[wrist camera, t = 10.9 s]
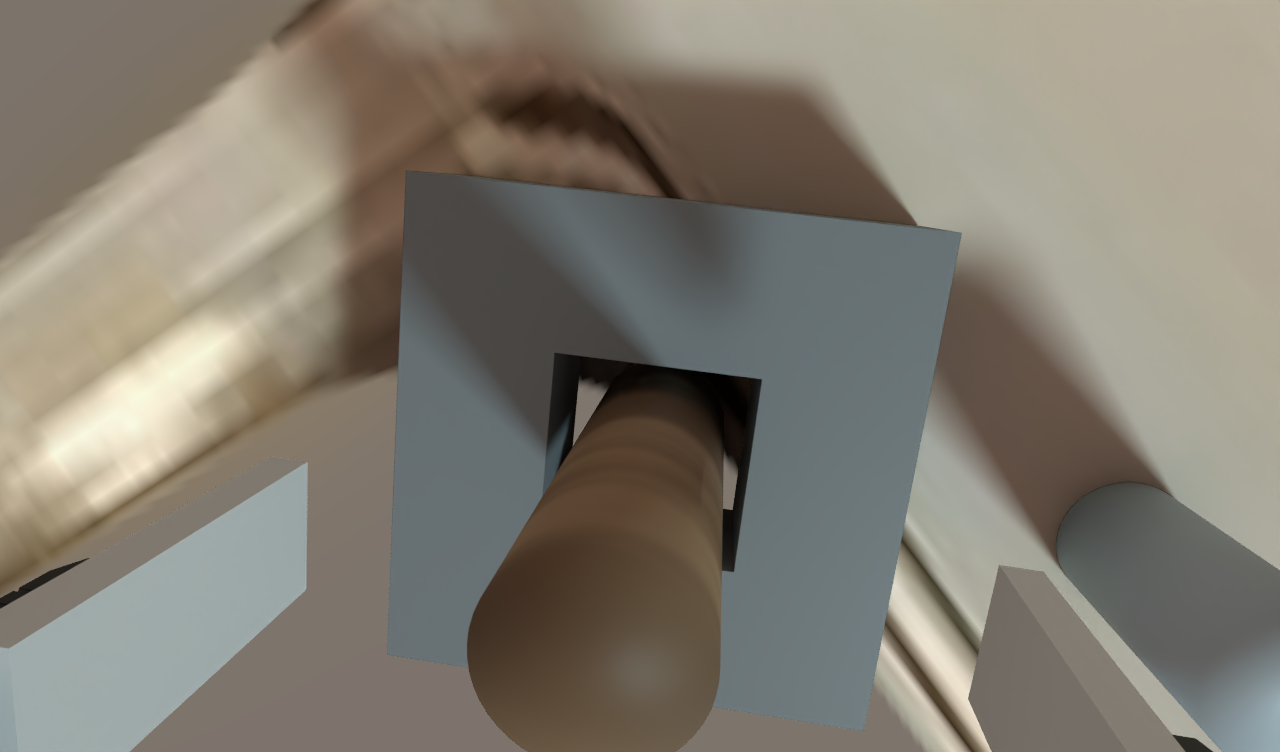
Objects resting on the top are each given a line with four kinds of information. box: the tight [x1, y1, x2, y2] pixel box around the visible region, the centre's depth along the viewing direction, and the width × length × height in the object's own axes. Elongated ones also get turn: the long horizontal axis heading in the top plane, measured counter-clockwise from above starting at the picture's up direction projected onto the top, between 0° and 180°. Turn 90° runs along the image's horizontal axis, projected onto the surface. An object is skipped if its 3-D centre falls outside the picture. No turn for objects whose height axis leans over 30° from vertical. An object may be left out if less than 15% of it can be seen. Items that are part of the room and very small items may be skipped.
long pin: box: [467, 363, 724, 752], centre depth 19 cm, size 4×4×14 cm
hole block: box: [387, 171, 962, 731], centre depth 24 cm, size 14×14×4 cm
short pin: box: [1056, 482, 1280, 752], centre depth 22 cm, size 4×4×8 cm
